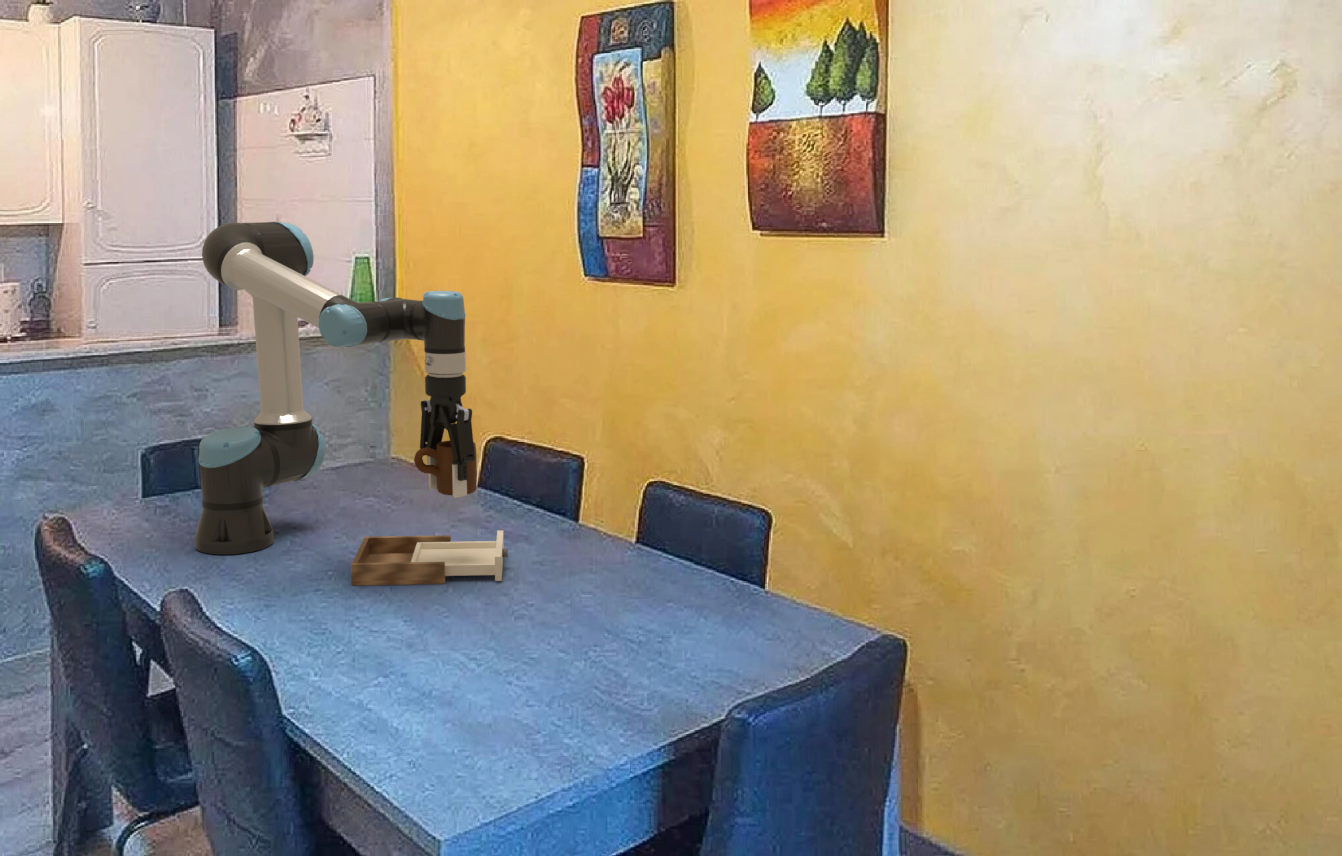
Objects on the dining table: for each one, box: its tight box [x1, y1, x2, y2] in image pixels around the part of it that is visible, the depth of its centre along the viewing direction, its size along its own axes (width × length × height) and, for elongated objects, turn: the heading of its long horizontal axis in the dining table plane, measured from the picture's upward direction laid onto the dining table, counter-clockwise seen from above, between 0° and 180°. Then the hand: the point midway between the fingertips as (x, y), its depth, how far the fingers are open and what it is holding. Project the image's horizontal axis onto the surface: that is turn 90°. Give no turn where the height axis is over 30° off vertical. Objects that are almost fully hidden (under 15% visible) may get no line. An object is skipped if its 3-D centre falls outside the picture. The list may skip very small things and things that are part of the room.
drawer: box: [411, 530, 509, 582], centre depth 232 cm, size 18×18×5 cm
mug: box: [413, 440, 478, 497], centre depth 229 cm, size 12×8×9 cm, turn 118°
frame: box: [350, 534, 452, 586], centre depth 231 cm, size 17×18×4 cm
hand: (447, 492), depth 229 cm, fingers closed on mug, 7 cm apart
